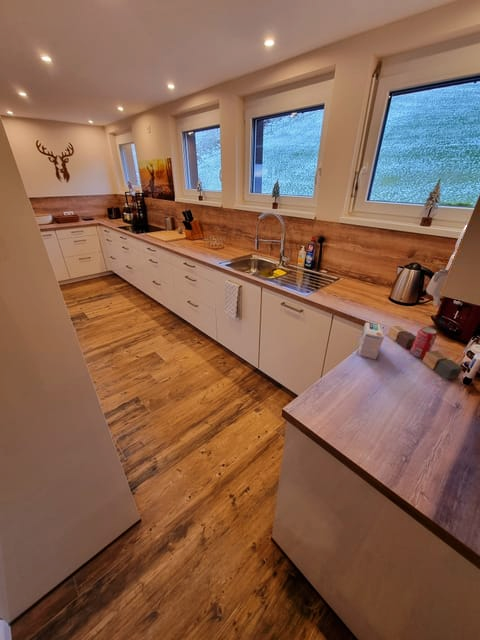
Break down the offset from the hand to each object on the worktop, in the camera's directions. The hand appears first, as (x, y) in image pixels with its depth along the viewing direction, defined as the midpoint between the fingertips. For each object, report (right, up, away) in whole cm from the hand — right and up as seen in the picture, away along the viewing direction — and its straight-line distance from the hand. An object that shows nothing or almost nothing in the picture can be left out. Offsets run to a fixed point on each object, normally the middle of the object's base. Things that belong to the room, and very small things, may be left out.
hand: (446, 304), depth 97 cm
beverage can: (-2, -20, +12) cm, 24 cm away
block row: (-2, -20, +12) cm, 24 cm away
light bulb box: (-23, -19, +13) cm, 33 cm away
